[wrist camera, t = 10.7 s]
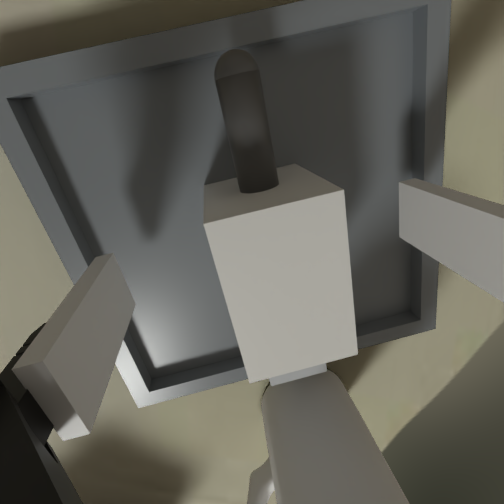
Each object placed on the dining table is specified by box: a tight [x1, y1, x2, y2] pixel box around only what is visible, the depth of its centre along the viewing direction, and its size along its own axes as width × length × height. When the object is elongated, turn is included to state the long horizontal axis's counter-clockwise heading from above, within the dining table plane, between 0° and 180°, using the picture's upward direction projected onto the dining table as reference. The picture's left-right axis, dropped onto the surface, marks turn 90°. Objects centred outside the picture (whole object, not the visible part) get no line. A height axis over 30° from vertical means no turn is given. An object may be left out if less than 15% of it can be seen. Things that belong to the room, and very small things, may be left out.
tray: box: [0, 0, 451, 408], centre depth 16 cm, size 18×19×2 cm
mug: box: [247, 369, 409, 504], centre depth 18 cm, size 10×7×12 cm, turn 131°
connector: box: [203, 49, 358, 386], centre depth 14 cm, size 15×5×6 cm, turn 12°
